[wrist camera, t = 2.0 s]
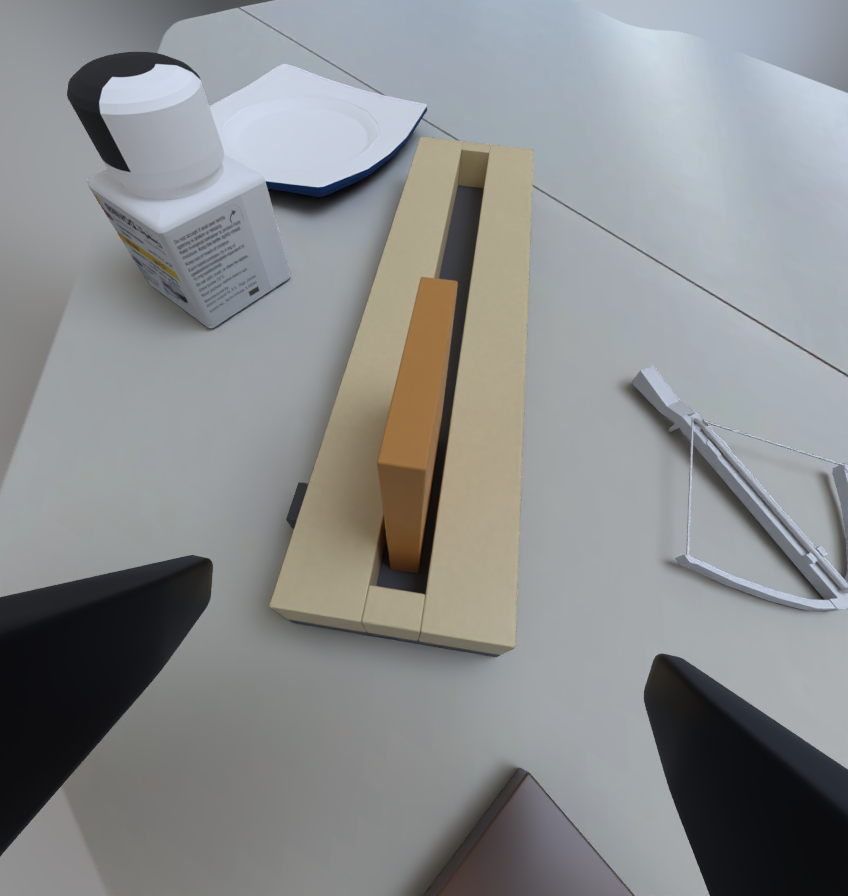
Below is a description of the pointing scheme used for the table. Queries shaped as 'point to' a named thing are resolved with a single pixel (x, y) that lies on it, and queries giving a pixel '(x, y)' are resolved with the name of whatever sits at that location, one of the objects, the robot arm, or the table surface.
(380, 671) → the table surface
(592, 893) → the bread board
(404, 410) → the toast
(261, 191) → the container
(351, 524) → the toaster
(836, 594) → the crossbow
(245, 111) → the plate
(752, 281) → the table surface
